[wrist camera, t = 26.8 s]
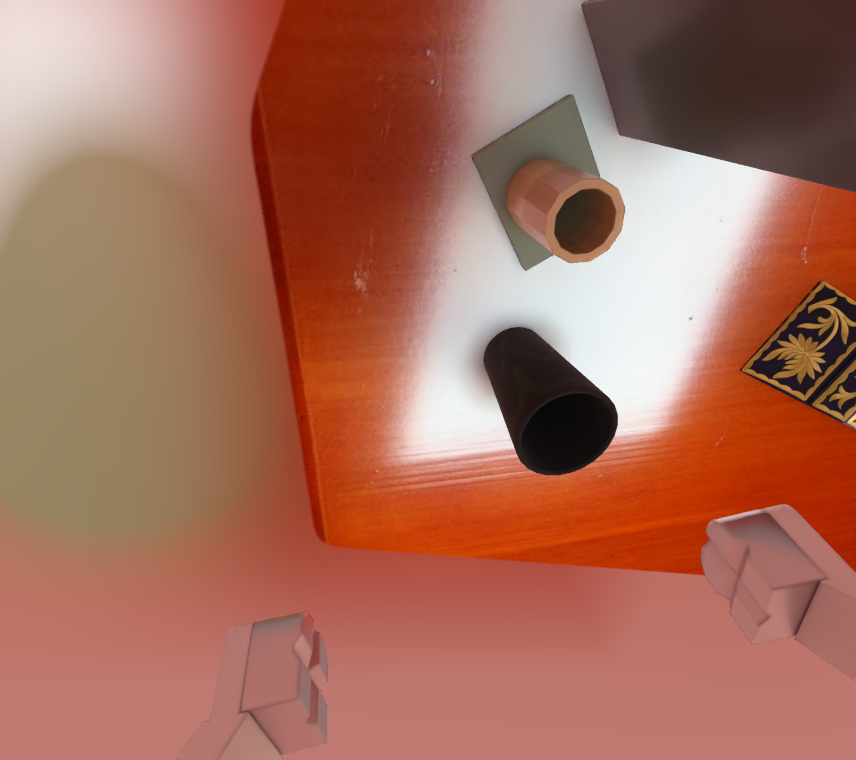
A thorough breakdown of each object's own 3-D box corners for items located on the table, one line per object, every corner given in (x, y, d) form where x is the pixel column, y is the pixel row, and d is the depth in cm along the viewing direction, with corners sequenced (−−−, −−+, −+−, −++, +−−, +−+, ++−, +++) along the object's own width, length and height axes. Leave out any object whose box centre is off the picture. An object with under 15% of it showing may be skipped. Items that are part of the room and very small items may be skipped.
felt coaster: (470, 155, 38) (473, 157, 38) (569, 94, 37) (573, 94, 37) (523, 268, 43) (525, 271, 43) (610, 217, 42) (614, 219, 42)
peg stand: (580, 5, 34) (1408, -168, 8) (707, -77, 33) (2092, -558, 7) (619, 135, 39) (1224, 283, 13) (731, 67, 38) (1627, 82, 12)
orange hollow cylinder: (494, 185, 39) (532, 210, 32) (556, 143, 38) (608, 161, 31) (524, 242, 42) (564, 277, 35) (582, 204, 41) (634, 233, 34)
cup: (546, 388, 50) (605, 471, 40) (469, 394, 49) (509, 480, 39) (560, 314, 46) (629, 385, 36) (476, 317, 45) (523, 392, 35)
